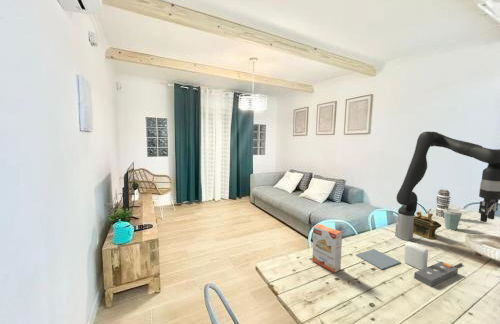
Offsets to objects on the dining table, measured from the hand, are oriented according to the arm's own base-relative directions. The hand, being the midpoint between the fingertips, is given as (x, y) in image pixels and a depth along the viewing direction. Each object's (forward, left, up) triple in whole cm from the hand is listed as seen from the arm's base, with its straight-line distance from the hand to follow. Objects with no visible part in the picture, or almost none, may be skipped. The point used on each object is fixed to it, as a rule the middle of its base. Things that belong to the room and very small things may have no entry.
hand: (487, 220), depth 109 cm
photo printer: (-17, -27, -28) cm, 42 cm away
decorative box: (-40, +23, -28) cm, 54 cm away
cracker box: (-37, -71, -28) cm, 84 cm away
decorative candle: (-53, +80, -28) cm, 100 cm away
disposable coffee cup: (-36, +55, -28) cm, 72 cm away
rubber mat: (-30, -39, -27) cm, 56 cm away
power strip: (-8, -20, -27) cm, 35 cm away
